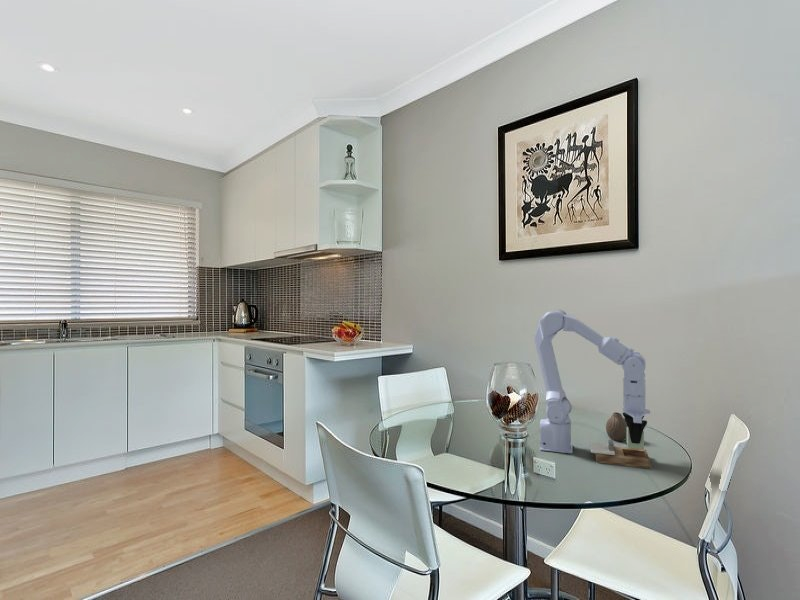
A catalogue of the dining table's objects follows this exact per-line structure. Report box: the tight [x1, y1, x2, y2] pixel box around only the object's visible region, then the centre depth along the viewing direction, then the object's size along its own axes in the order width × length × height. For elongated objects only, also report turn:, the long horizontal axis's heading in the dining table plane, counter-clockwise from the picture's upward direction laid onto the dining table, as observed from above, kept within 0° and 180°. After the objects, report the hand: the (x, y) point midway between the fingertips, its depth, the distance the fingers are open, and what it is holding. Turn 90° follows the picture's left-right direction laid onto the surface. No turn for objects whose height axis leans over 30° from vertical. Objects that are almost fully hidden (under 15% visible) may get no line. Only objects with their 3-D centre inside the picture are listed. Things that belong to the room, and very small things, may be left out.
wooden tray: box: [594, 445, 652, 470], centre depth 130 cm, size 14×9×2 cm, turn 68°
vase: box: [605, 411, 627, 442], centre depth 147 cm, size 7×7×9 cm
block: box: [626, 427, 645, 450], centre depth 128 cm, size 4×4×5 cm
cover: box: [589, 439, 615, 455], centre depth 132 cm, size 6×8×2 cm
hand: (634, 440), depth 128 cm, fingers closed on block, 4 cm apart
